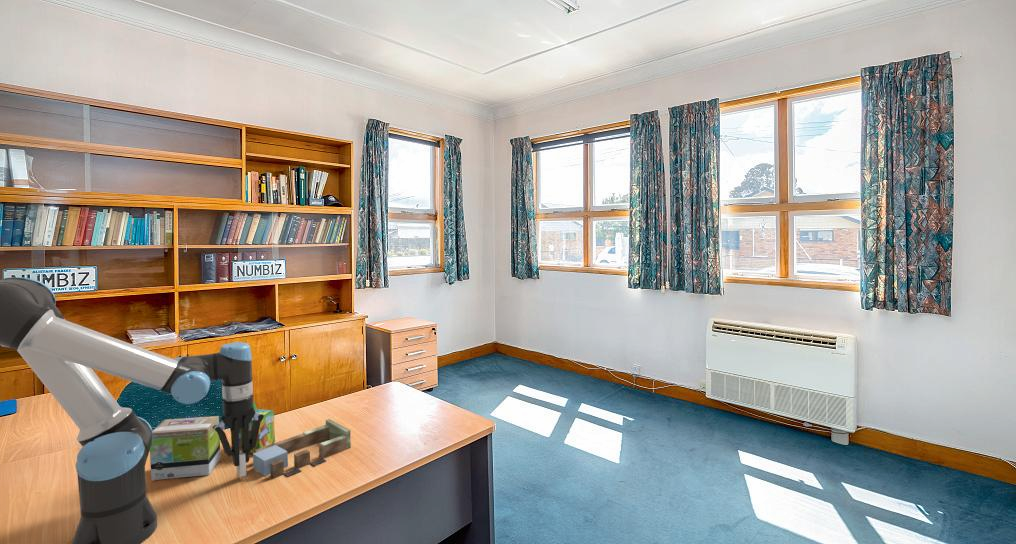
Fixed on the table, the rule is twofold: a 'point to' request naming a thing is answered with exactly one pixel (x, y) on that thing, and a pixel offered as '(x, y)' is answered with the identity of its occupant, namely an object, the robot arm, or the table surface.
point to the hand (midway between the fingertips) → (241, 474)
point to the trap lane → (327, 448)
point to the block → (269, 459)
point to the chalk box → (262, 429)
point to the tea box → (184, 448)
